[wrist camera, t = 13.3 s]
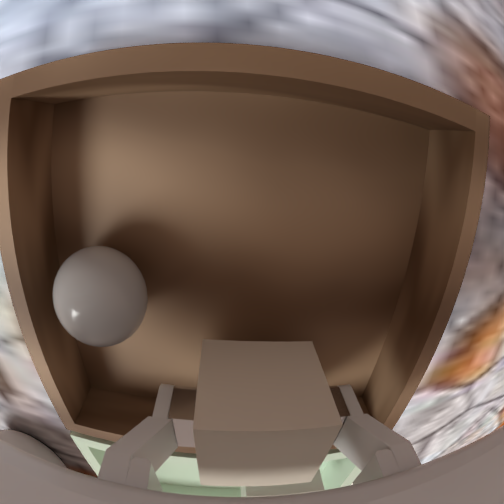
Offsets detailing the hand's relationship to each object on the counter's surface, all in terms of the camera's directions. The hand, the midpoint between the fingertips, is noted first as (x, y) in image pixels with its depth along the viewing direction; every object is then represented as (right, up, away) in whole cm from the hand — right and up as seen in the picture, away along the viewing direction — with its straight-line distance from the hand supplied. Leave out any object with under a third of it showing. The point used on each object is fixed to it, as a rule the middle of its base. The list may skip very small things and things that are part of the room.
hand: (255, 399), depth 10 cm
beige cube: (0, 0, +1) cm, 1 cm away
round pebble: (-5, +4, 0) cm, 7 cm away
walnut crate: (-1, +5, +2) cm, 5 cm away
